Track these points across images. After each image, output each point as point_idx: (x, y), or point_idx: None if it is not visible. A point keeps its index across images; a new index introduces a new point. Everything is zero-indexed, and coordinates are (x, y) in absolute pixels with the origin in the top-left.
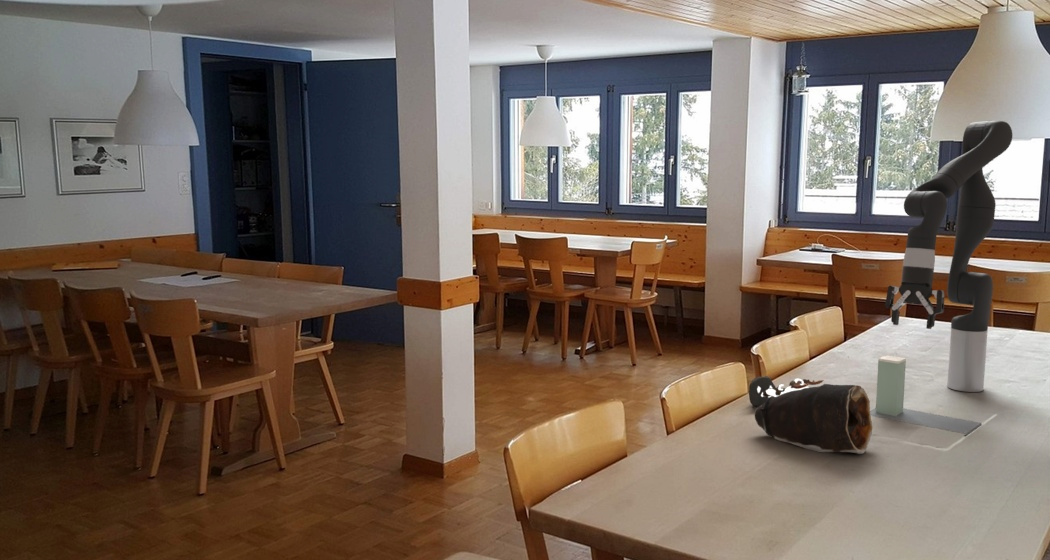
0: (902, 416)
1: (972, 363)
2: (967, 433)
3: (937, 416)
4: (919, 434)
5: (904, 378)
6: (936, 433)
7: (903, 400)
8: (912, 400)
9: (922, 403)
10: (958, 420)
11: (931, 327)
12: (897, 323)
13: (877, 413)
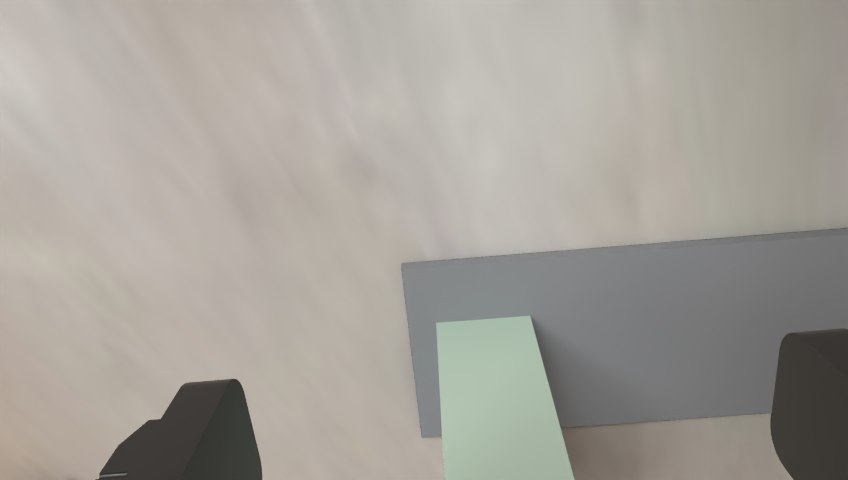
0: (555, 373)
1: None
2: None
3: (682, 275)
4: (667, 476)
5: (565, 450)
6: (716, 434)
7: (540, 354)
8: (458, 17)
9: (530, 41)
10: (779, 269)
11: (846, 340)
12: (241, 429)
13: None
